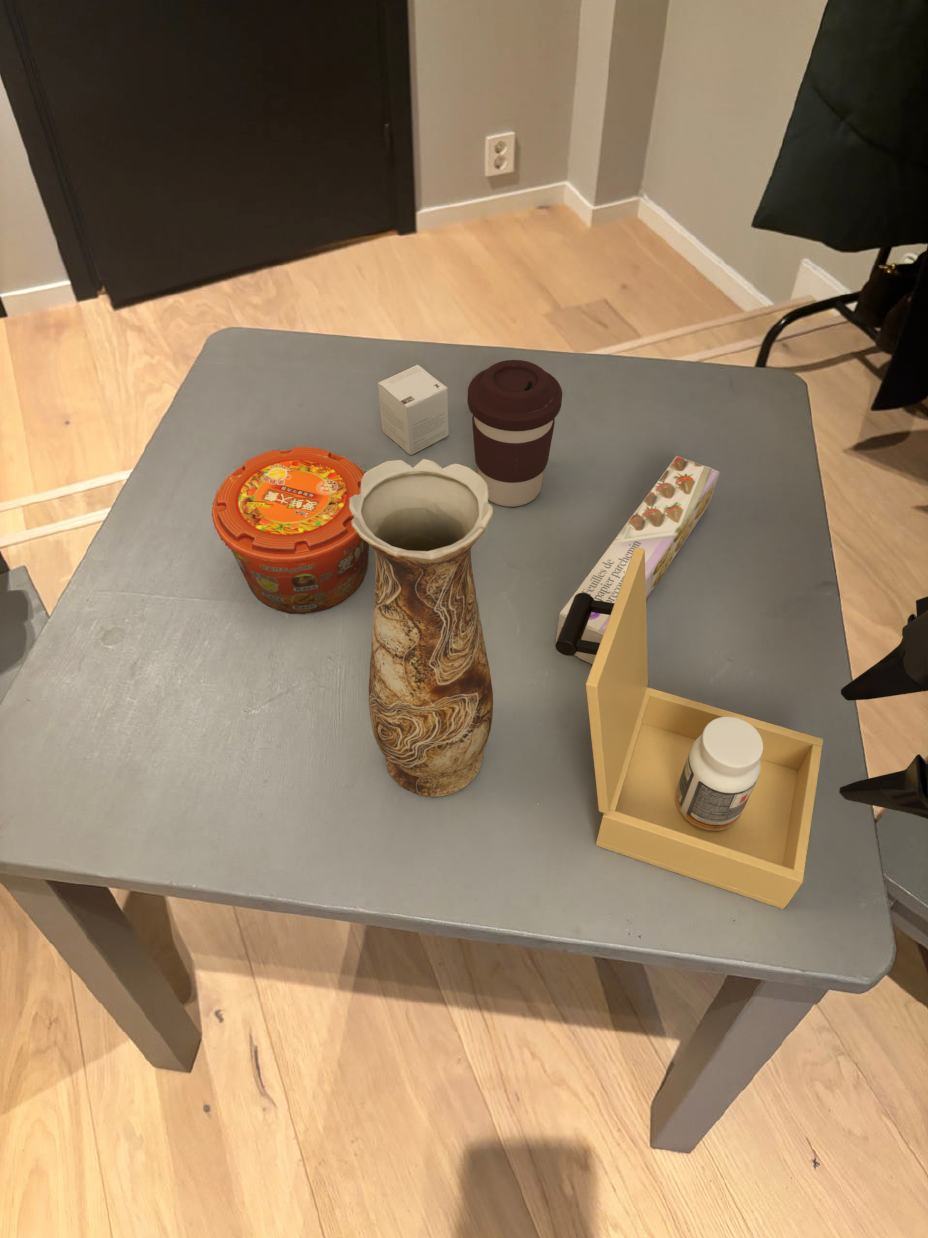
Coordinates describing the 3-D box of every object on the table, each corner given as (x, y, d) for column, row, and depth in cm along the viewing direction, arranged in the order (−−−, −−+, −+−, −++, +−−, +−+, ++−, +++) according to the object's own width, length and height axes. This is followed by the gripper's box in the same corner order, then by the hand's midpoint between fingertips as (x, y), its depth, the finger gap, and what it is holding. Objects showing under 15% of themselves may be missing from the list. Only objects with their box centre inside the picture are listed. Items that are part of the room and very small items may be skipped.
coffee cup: (450, 481, 105) (448, 371, 93) (516, 448, 108) (522, 339, 97) (502, 529, 100) (508, 419, 88) (570, 493, 103) (583, 383, 92)
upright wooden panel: (645, 548, 67) (588, 540, 69) (597, 686, 59) (533, 674, 61) (648, 683, 79) (599, 674, 81) (608, 814, 71) (555, 801, 72)
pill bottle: (754, 808, 77) (787, 746, 69) (709, 846, 74) (737, 787, 67) (705, 762, 80) (730, 698, 72) (659, 798, 77) (681, 735, 70)
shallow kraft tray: (805, 770, 80) (823, 738, 76) (783, 910, 72) (803, 882, 68) (634, 718, 84) (643, 685, 79) (595, 845, 75) (602, 815, 71)
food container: (217, 625, 91) (192, 551, 82) (246, 515, 101) (227, 439, 93) (374, 629, 90) (365, 555, 82) (388, 518, 101) (381, 443, 92)
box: (600, 671, 87) (607, 634, 83) (552, 647, 89) (557, 610, 85) (710, 507, 102) (721, 469, 97) (667, 490, 104) (676, 452, 99)
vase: (376, 806, 78) (339, 570, 55) (375, 705, 84) (342, 456, 62) (496, 799, 78) (509, 561, 55) (485, 698, 85) (493, 450, 62)
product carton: (420, 412, 113) (417, 362, 107) (450, 436, 110) (449, 386, 104) (380, 431, 111) (376, 381, 105) (410, 457, 107) (407, 406, 102)
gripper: (1002, 504, 60) (789, 588, 70) (1039, 725, 48) (775, 787, 58) (1074, 608, 64) (863, 673, 74) (1124, 835, 52) (864, 875, 62)
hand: (842, 742), depth 67 cm, fingers open, 9 cm apart
